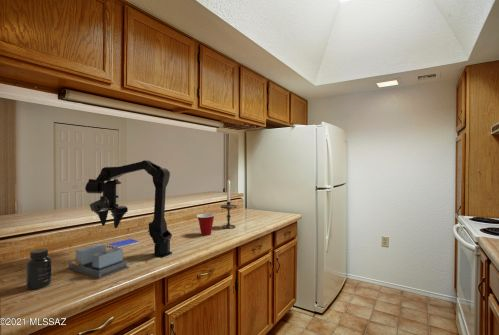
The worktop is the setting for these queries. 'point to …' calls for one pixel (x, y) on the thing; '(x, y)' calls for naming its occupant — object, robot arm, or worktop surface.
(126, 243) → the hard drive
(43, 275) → the supplement bottle
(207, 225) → the plastic cup
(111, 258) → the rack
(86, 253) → the pale grey block
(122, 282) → the worktop surface
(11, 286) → the worktop surface
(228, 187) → the candlestick
